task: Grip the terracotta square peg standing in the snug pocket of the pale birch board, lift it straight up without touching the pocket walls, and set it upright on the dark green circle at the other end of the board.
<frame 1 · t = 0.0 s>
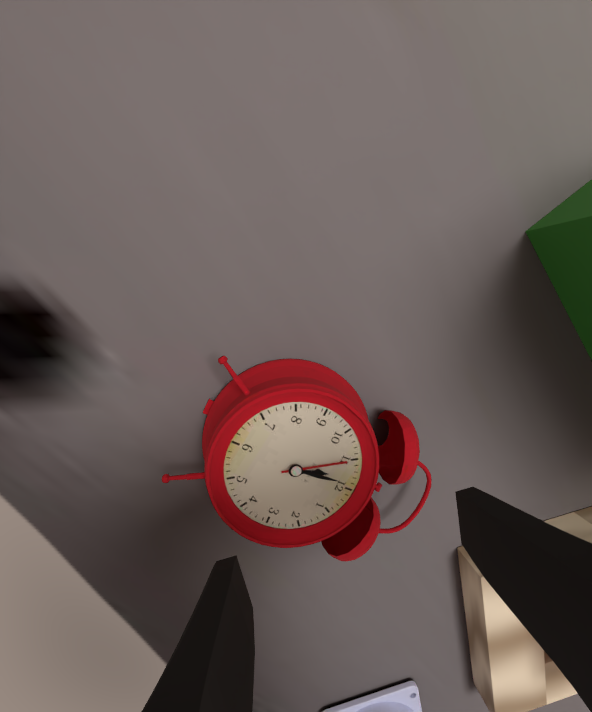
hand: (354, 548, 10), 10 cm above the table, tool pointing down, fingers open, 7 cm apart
pocket board: (589, 578, 25), on the table
alarm clock: (310, 444, 20), on the table
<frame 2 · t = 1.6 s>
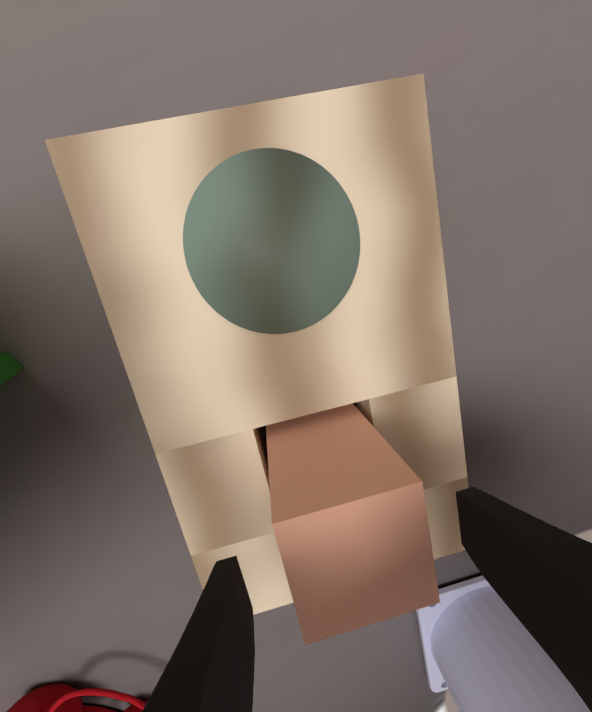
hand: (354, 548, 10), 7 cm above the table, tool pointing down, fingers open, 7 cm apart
pocket board: (298, 372, 16), on the table
peg: (313, 441, 17), resting in pocket board
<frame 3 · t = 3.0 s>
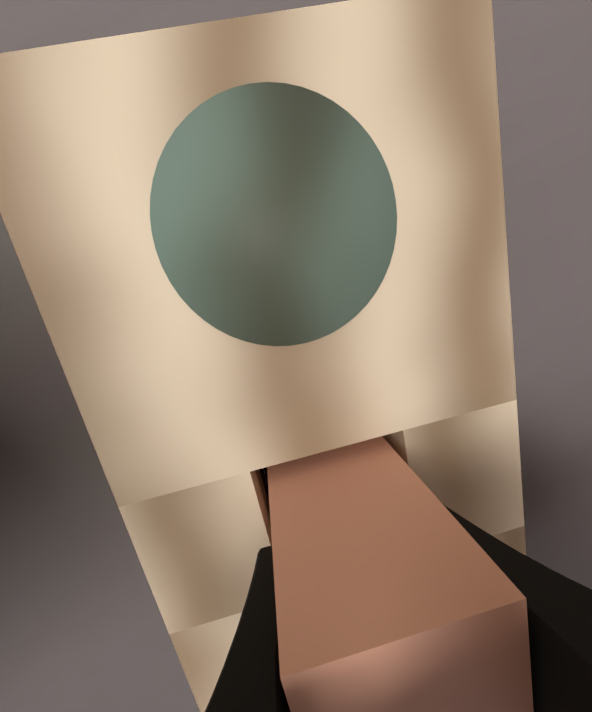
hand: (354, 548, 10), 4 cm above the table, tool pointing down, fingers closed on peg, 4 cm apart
pocket board: (307, 392, 13), on the table
peg: (326, 476, 13), resting in pocket board, touching gripper
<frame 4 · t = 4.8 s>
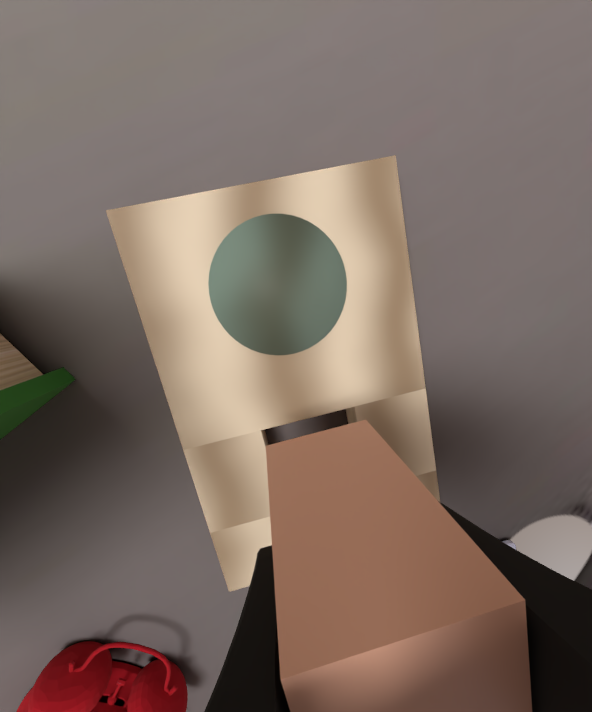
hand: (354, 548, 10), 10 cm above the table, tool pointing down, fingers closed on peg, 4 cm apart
pocket board: (297, 384, 19), on the table
alarm clock: (109, 691, 23), on the table
peg: (326, 477, 13), point 7 cm above the table, touching gripper
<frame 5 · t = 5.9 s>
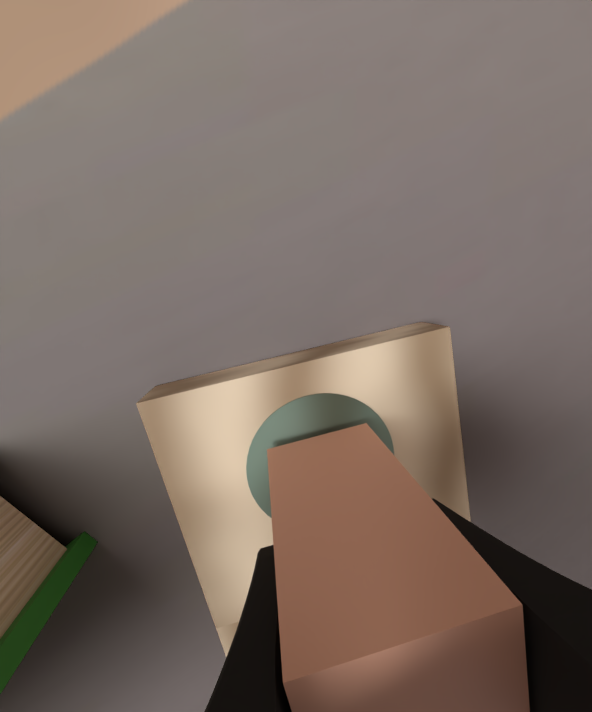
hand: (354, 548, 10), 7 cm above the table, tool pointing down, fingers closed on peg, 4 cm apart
pocket board: (332, 530, 18), on the table
peg: (327, 480, 14), point 3 cm above the table, touching gripper
when the fingers open (7 cm above the table, at t = 6.7 s): peg stays where it is, resting on pocket board.
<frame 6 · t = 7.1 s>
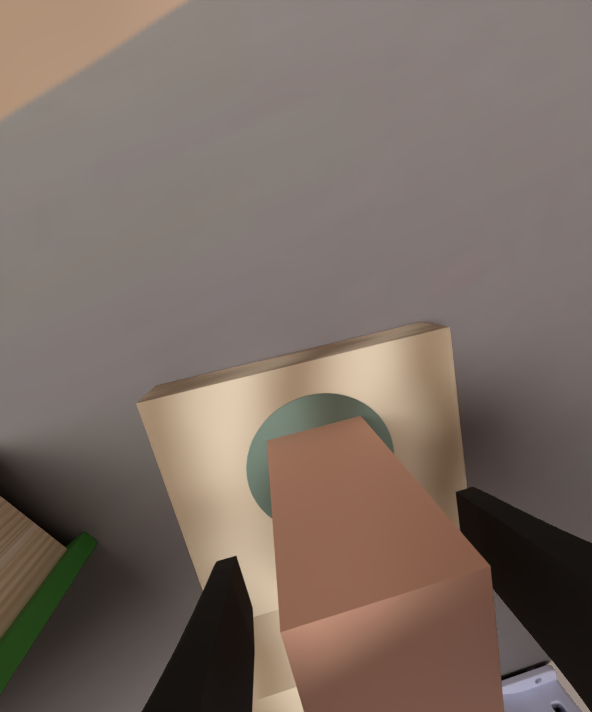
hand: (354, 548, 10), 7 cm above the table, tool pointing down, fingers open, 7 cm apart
pocket board: (333, 530, 18), on the table
peg: (323, 470, 14), point 3 cm above the table, touching pocket board
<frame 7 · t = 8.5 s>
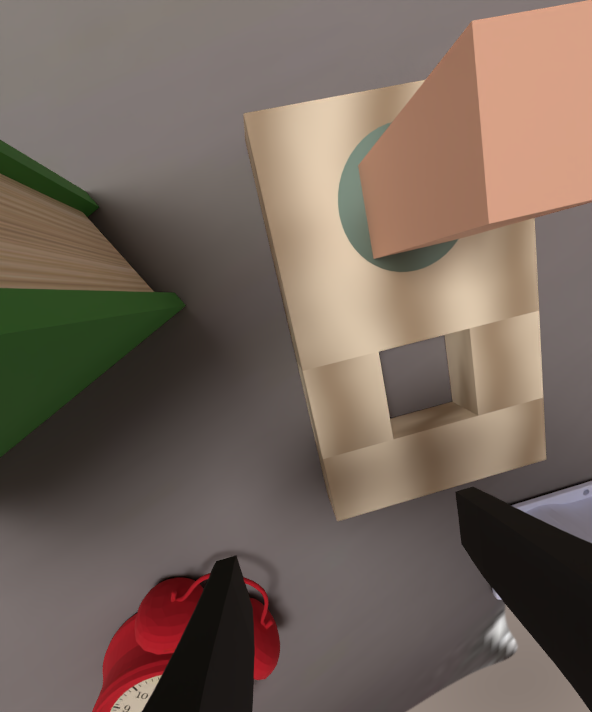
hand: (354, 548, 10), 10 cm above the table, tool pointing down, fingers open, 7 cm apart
pocket board: (400, 314, 19), on the table
hardback book: (17, 352, 17), on the table
alarm clock: (195, 631, 22), on the table
peg: (407, 204, 15), point 3 cm above the table, touching pocket board
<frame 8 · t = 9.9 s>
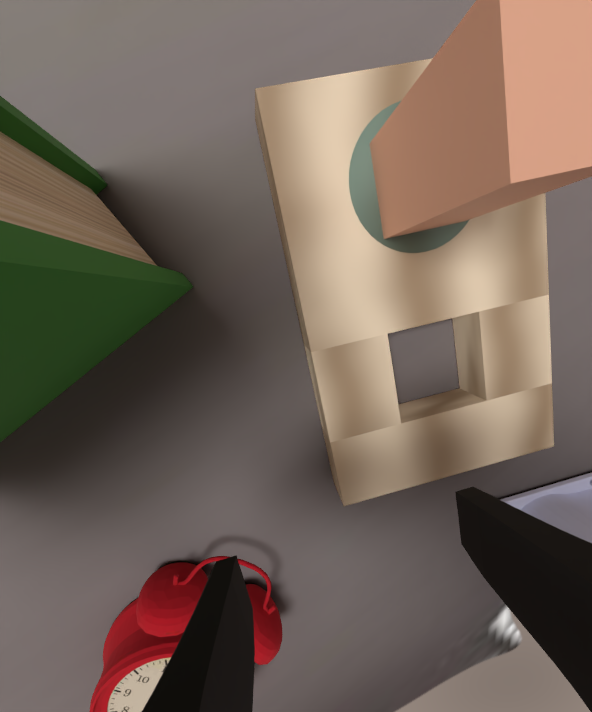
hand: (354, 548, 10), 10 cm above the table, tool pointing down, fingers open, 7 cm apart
pocket board: (408, 298, 19), on the table
hardback book: (24, 332, 17), on the table
alarm clock: (196, 618, 22), on the table
peg: (418, 184, 15), point 3 cm above the table, touching pocket board
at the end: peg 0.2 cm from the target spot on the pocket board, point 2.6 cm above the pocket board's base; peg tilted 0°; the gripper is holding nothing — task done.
